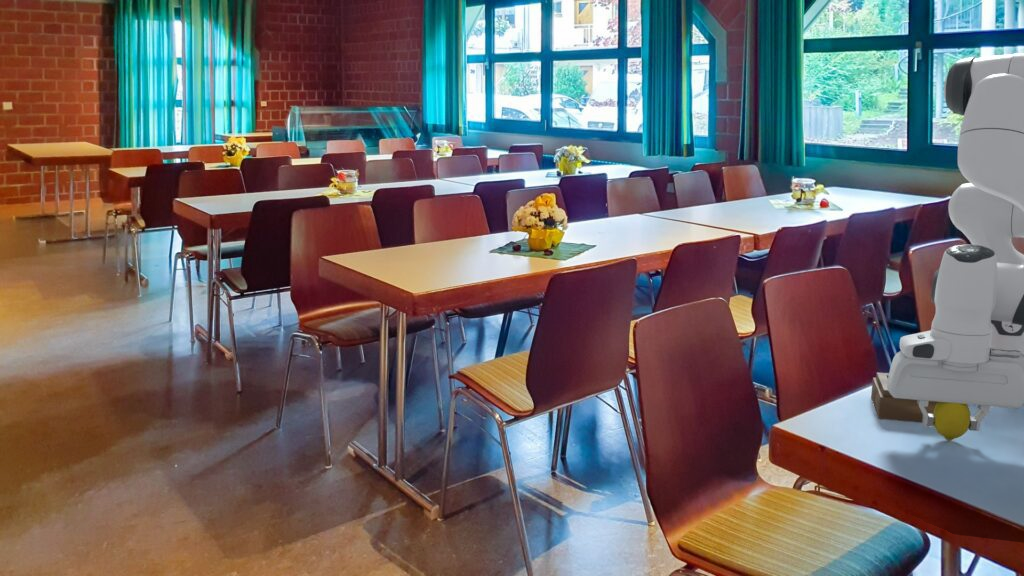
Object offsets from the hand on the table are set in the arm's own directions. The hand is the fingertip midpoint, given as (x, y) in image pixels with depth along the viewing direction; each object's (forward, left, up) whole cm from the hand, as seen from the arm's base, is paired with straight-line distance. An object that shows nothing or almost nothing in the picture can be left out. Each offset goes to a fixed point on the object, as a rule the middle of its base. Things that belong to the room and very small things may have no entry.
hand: (950, 427), depth 150 cm
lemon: (0, 0, -2) cm, 2 cm away
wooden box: (-14, -4, -2) cm, 15 cm away
